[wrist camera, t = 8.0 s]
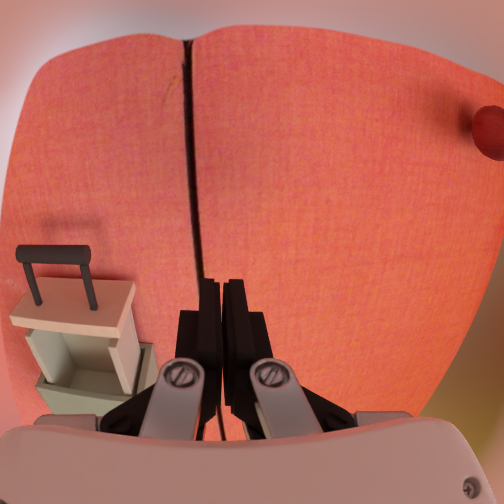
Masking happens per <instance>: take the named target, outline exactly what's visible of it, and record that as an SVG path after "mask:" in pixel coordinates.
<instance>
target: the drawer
mask: <svg viewBox="0 0 504 504" xmlns="http://www.w3.org/2000/svg"><path fill="white" fill-rule="evenodd" d="M15 255H16V259H17V261H18V262H19V263H23V267H24V271H25V274H26V277H27V281H28V284H29V287H30V288H29V289H28V290H27V292H26V293H25V294H24V296H23V297H22V298H21V300H20V301H19V302H18V304H17V305H16V307H15V308H14V309H13V311H12V312H11V314H10V315H9V317H10V319H11V322H12V324H13V325H14V326H19V327H25V328H29V329H28V331H27V332H26V334H25V339H26V341H27V343H28V345H29V347H30V349H31V351H32V353H33V355H34V357H35V359H36V361H37V363H38V365H39V367H40V369H41V370H42V372H43V374H44V376H45V378H46V379H47V381H48V383H49V384H50V385H55V386H60V387H65V388H71V389H76V390H82V391H89V392H95V393H103V394H111V395H119V396H129V397H134V396H135V395H137V389H138V384H139V378H140V373H141V368H142V363H143V359H142V355H141V351H140V347H139V342H138V338H137V333H136V329H135V324H134V319H133V314H132V309H131V303H132V300H133V297H134V295H135V292H136V289H135V282H134V281H121V280H94V279H92V278H91V274H90V269H89V263H90V260H91V249H90V247H89V246H88V245H18V246H17V248H16V253H15ZM31 263H42V264H72V265H80V270H81V274H82V279H72V278H52V277H38V278H37V279H35V276H34V273H33V269H32V265H31Z"/></svg>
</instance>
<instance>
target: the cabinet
mask: <svg viewBox="0 0 504 504" xmlns="http://www.w3.org/2000/svg"><path fill="white" fill-rule="evenodd" d="M139 347H140V351H141V355H142V359H143V363H142V368H141V373H140V378H139V384H138V389H137V394H138V393H140V392H142V391H143V390H145V389H146V388H148V387H150V386H151V385H153V384H154V383H156V380H157V377H158V374H159V371H158V366H157V362H156V357H155V352H154V347H153V344H150V343H139ZM36 389H37V390H38V392H39V393H40V395H41V396H42V398H43V399H44V401H45V402H46V404H47V405H48V407H49V408H50V410H51V411H52V413H53V414H96V416H104V415H105V414H106V413H108V412H109V411H110V410H112V409H114V408H115V407H117V406H119V405H120V404H122V403H124V402H125V401H127V400H129V399H130V398H132V397H129V396H119V395H111V394H103V393H95V392H89V391H82V390H76V389H71V388H65V387H60V386H55V385H50V384H49V383H48V381H47V379H46V378H45V376H44V374H43V372H41V375H40V377H39V379H38V382H37V384H36Z"/></svg>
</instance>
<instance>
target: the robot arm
mask: <svg viewBox="0 0 504 504" xmlns="http://www.w3.org/2000/svg"><path fill="white" fill-rule="evenodd" d="M222 366H223V382H224V397H225V406H231V414H234V415H235V416H236V417H237V418H239V419H240V420H242V425H243V429H244V432H245V436H246V439H247V440H245V441H204V437H205V431H206V422H208V421H209V420H210V419H211V418H213V417H214V416H215V415H216V406H221V387H222ZM0 504H497V502H496V500H495V497H494V495H493V493H492V490H491V488H490V485H489V483H488V481H487V479H486V476H485V474H484V472H483V470H482V468H481V466H480V464H479V462H478V460H477V458H476V456H475V454H474V452H473V451H472V449H471V447H470V446H469V444H468V442H467V441H466V439H465V438H464V436H463V435H462V434H461V432H460V431H459V430H458V429H457V428H456V427H455V426H454V425H453V424H452V423H450V422H448V421H446V420H442V419H438V418H430V417H413V416H412V415H411V414H409V413H407V412H404V411H356V412H355V414H350V413H349V412H348V411H346V410H345V409H343V408H341V407H339V406H337V405H336V404H334V403H332V402H330V401H328V400H326V399H324V398H323V397H321V396H319V395H317V394H315V393H313V392H312V391H310V390H308V389H306V388H305V387H303V386H301V385H300V384H299V382H298V379H297V377H296V375H295V373H294V371H293V370H292V368H291V367H290V366H289V365H288V364H287V363H286V362H284V361H282V360H279V359H275V358H273V354H272V350H271V345H270V341H269V337H268V332H267V328H266V324H265V319H264V315H263V312H248V306H247V300H246V294H245V288H244V282H243V279H229V283H224V285H223V304H222V323H221V303H220V283H219V282H214V279H208V278H201V280H200V299H199V311H191V310H181V311H180V317H179V325H178V334H177V343H176V352H175V358H174V359H171V360H169V361H167V362H166V363H165V364H164V365H162V367H161V369H160V371H159V374H158V377H157V380H156V383H154V384H153V385H151V386H150V387H148V388H146V389H145V390H143V391H142V392H140V393H138V394H137V395H135V396H134V397H132V398H130V399H129V400H127V401H125V402H124V403H122V404H120V405H119V406H117V407H115V408H114V409H112V410H110V411H109V412H108V413H106V414H105V415H104V416H96V414H47V415H42V416H40V417H39V418H37V419H36V421H35V422H34V424H33V425H27V426H21V427H17V428H14V429H11V430H9V431H7V432H6V433H5V434H4V435H2V437H1V438H0Z"/></svg>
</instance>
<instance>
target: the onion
mask: <svg viewBox="0 0 504 504" xmlns="http://www.w3.org/2000/svg"><path fill="white" fill-rule="evenodd" d="M471 130H472V136H473V140H474V142H475V145H476V146H477V147H478V149H479V150H480V151H481V152H482V154H483V155H485V156H487V157H489V158H491V159H493V160H496V161H504V109H502V108H501V107H498V106H484V107H483V108H481V109H480V110H479V111H478V112H477V113H476V114H475V116H474V119H473V122H472V124H471Z"/></svg>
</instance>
